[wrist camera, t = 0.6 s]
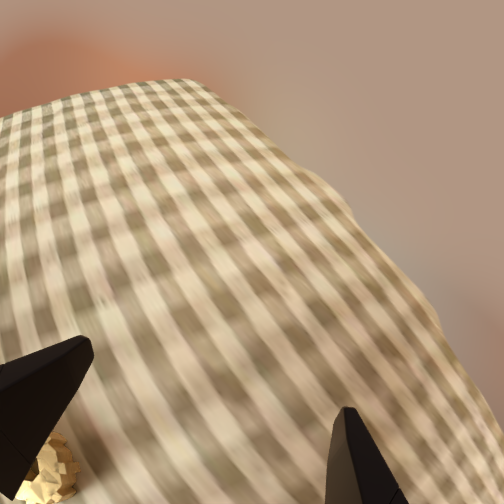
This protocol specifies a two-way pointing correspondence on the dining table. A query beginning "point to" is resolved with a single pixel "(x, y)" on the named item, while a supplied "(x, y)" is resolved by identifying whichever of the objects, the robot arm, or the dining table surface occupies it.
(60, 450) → the brass gear
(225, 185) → the dining table surface
